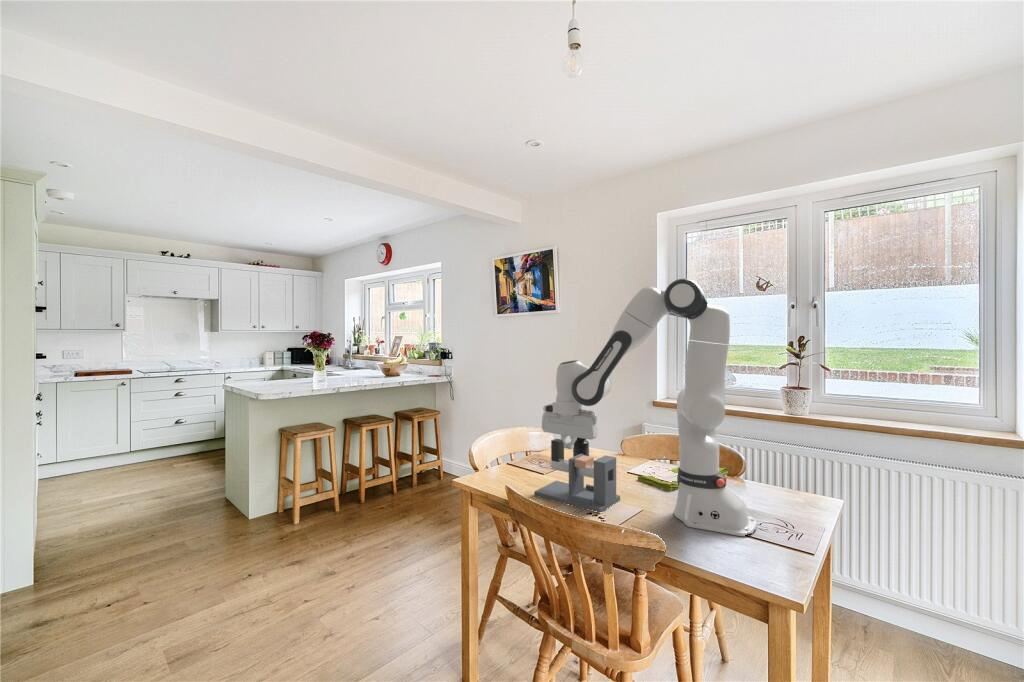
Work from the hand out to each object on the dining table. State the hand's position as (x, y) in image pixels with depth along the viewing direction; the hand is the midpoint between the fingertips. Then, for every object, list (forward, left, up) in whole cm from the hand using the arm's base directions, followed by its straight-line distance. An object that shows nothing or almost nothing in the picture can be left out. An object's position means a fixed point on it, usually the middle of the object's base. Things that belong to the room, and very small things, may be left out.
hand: (568, 448), depth 153 cm
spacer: (-6, 0, -5) cm, 8 cm away
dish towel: (-25, -44, -17) cm, 53 cm away
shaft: (-4, 0, -8) cm, 9 cm away
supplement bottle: (+16, -37, -17) cm, 44 cm away
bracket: (-3, 0, -16) cm, 17 cm away
